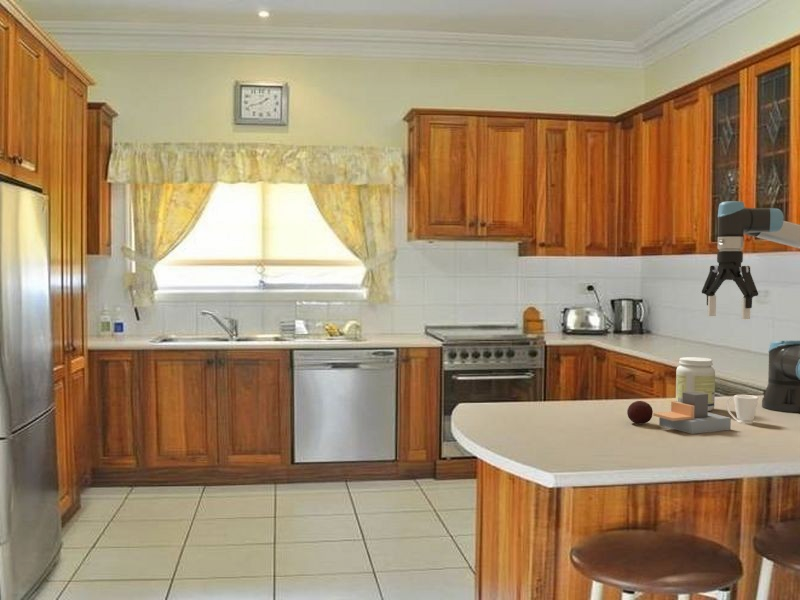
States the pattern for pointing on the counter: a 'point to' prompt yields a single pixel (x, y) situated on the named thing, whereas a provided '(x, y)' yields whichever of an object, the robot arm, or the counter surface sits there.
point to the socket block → (699, 424)
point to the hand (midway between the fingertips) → (728, 317)
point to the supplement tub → (696, 378)
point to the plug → (697, 403)
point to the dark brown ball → (640, 412)
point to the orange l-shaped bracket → (677, 412)
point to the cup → (744, 408)
